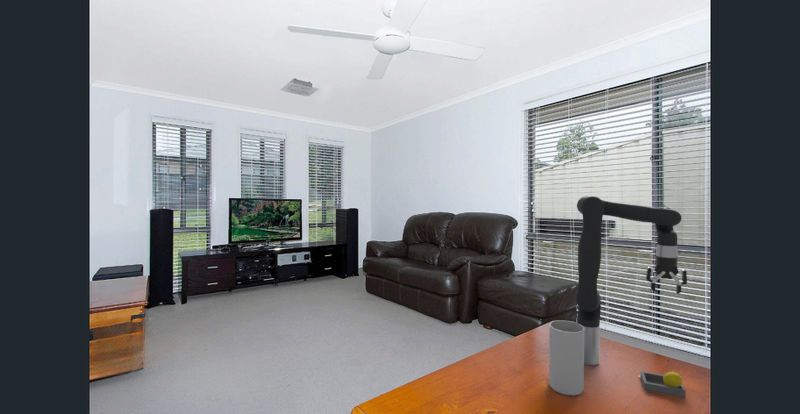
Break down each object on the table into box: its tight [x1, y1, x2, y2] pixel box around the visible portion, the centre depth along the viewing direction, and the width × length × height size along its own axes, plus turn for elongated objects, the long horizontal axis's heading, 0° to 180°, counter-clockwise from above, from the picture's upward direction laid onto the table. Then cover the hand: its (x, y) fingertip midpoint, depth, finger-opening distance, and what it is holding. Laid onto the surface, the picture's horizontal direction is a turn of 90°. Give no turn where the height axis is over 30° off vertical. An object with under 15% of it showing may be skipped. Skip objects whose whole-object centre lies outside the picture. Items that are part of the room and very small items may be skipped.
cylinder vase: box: [548, 320, 585, 397], centre depth 147 cm, size 12×12×25 cm
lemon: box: [663, 371, 683, 388], centre depth 143 cm, size 6×6×8 cm
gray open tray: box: [639, 371, 686, 399], centre depth 146 cm, size 13×10×3 cm
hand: (665, 292), depth 161 cm, fingers open, 8 cm apart
